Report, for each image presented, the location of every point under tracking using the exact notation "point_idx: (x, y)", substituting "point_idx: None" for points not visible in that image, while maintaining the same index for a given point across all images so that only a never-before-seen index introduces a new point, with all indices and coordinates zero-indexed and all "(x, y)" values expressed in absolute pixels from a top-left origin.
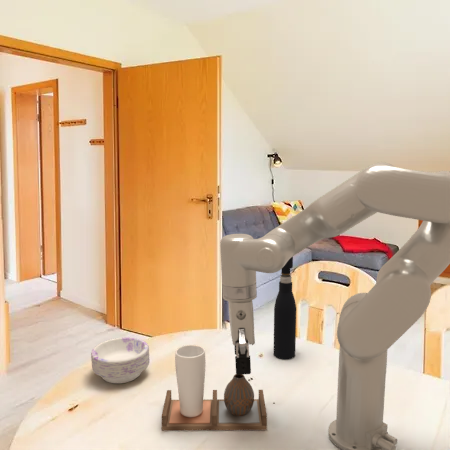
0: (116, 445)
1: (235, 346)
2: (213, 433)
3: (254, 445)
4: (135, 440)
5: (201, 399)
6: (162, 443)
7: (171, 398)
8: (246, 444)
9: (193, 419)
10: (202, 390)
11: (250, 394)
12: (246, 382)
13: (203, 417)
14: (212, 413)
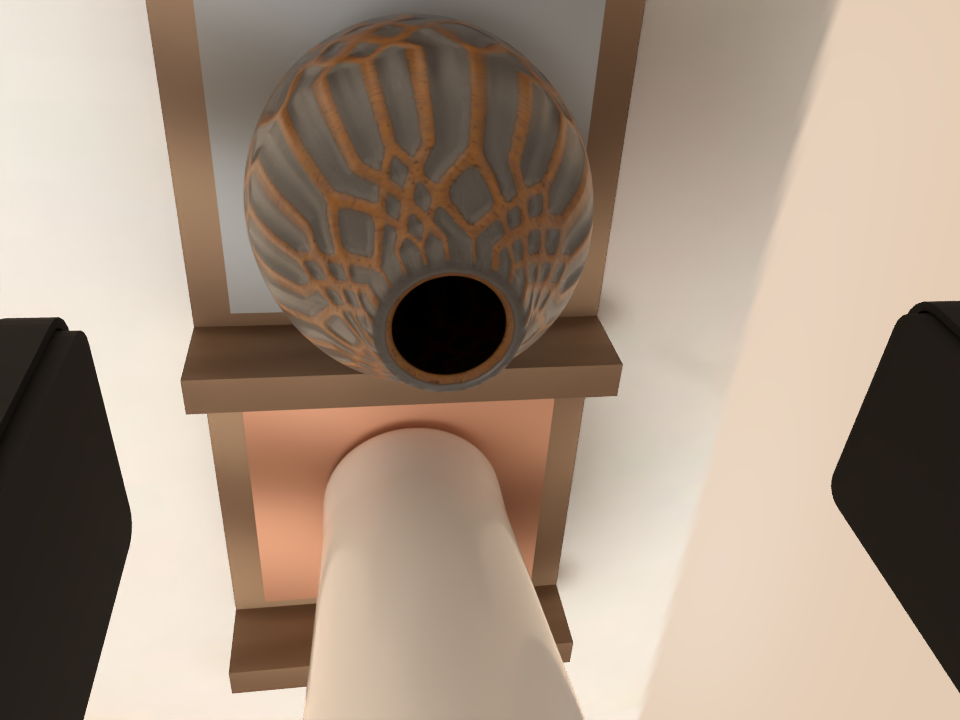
0: (639, 713)
1: (89, 678)
2: (620, 316)
3: (832, 16)
4: (615, 663)
5: (478, 515)
6: (665, 560)
7: (235, 617)
8: (802, 82)
9: (504, 465)
10: (489, 571)
11: (543, 102)
12: (485, 196)
13: (487, 409)
14: (585, 393)
